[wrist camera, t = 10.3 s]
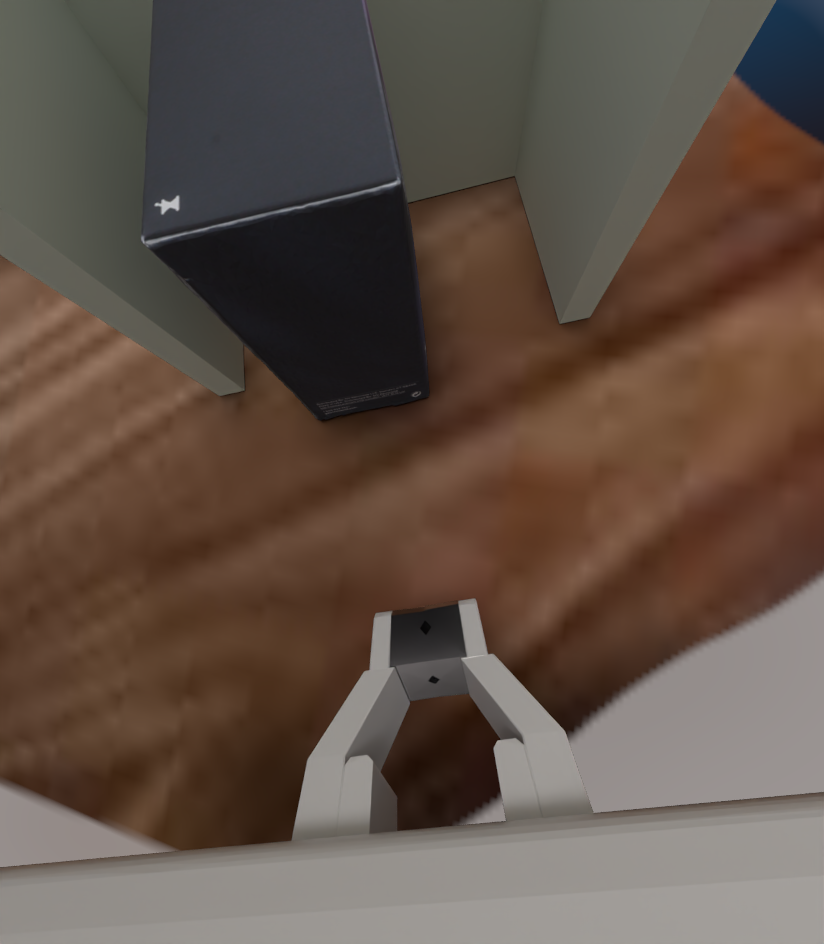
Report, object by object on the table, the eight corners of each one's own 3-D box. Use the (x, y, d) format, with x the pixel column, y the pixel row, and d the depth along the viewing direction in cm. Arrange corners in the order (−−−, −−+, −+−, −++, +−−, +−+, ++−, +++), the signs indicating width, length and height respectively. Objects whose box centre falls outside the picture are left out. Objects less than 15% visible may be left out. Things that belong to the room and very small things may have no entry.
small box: (439, 399, 17) (416, 177, 7) (316, 424, 17) (124, 255, 7) (406, 234, 19) (353, -109, 9) (299, 261, 20) (138, -36, 10)
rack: (219, 395, 18) (-260, 88, 6) (216, 232, 21) (-120, -212, 9) (590, 317, 17) (971, -331, 4) (534, 150, 19) (674, -543, 7)
